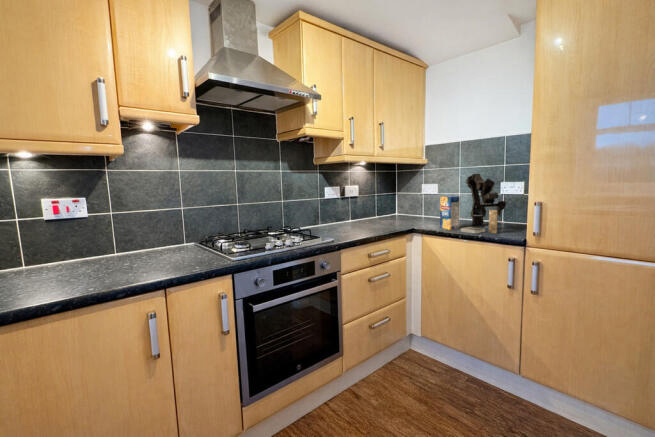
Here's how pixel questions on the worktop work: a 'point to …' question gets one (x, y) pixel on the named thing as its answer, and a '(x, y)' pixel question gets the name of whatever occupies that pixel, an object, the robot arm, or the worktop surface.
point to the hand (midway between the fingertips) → (491, 215)
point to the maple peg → (492, 221)
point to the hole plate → (472, 230)
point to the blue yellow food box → (449, 212)
